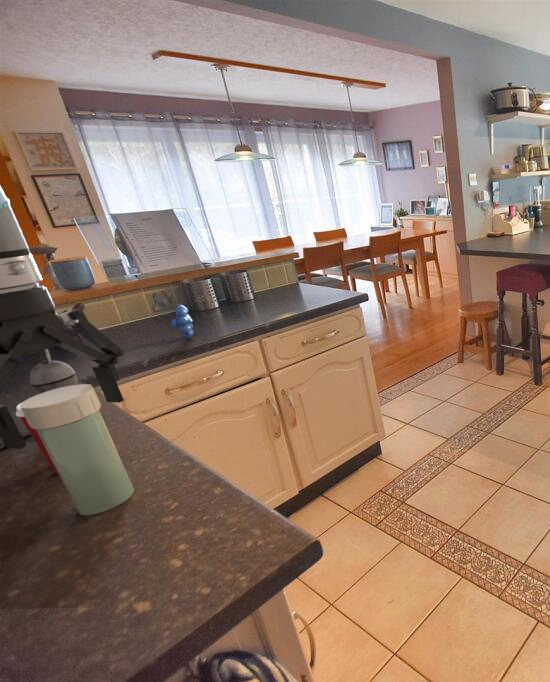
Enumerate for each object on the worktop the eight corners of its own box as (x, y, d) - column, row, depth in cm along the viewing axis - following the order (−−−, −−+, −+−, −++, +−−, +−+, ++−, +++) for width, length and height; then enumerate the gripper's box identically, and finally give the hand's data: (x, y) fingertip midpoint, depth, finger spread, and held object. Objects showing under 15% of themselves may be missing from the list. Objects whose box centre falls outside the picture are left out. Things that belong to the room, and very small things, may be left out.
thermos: (65, 516, 70) (11, 412, 63) (105, 486, 77) (60, 390, 70) (108, 514, 70) (58, 410, 63) (145, 485, 76) (103, 387, 70)
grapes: (177, 335, 162) (166, 304, 158) (199, 331, 165) (188, 301, 161) (174, 344, 153) (162, 311, 148) (197, 339, 156) (186, 307, 152)
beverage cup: (45, 430, 98) (4, 348, 91) (84, 414, 104) (48, 336, 97) (65, 434, 95) (24, 350, 89) (103, 418, 102) (68, 338, 95)
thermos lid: (14, 430, 64) (3, 409, 63) (67, 404, 71) (58, 385, 70) (66, 428, 64) (55, 407, 62) (114, 402, 71) (106, 382, 70)
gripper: (-110, 315, 48) (-17, 473, 56) (119, 270, 71) (164, 387, 78) (-154, 315, 50) (-58, 470, 57) (84, 271, 73) (131, 386, 80)
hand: (70, 422), depth 68 cm, fingers open, 13 cm apart
